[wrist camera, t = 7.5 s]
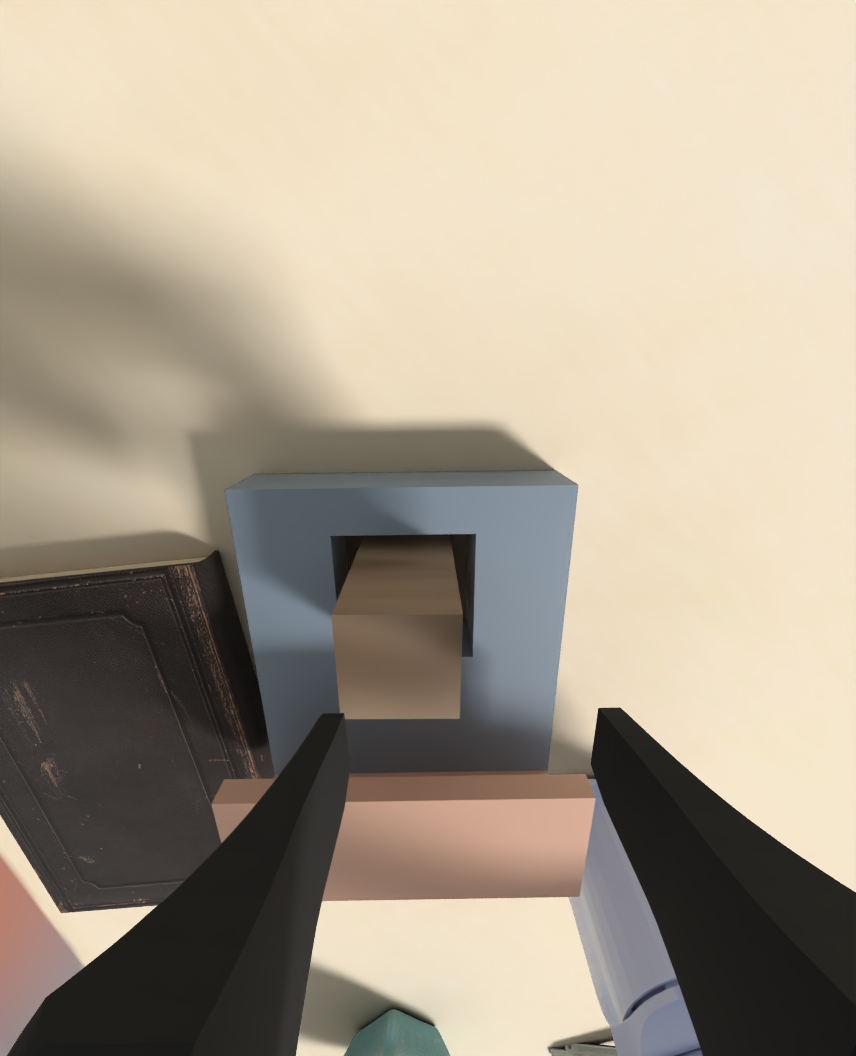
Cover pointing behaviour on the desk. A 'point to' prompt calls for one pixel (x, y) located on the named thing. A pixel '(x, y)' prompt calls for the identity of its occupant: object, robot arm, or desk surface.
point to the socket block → (488, 634)
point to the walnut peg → (399, 630)
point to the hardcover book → (123, 725)
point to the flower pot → (397, 1038)
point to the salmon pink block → (447, 834)
